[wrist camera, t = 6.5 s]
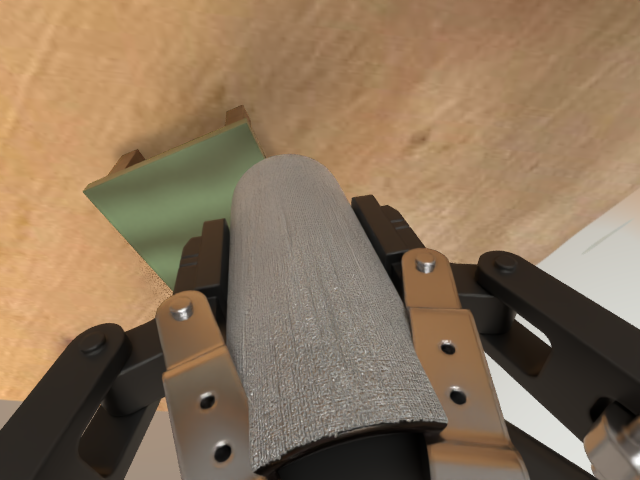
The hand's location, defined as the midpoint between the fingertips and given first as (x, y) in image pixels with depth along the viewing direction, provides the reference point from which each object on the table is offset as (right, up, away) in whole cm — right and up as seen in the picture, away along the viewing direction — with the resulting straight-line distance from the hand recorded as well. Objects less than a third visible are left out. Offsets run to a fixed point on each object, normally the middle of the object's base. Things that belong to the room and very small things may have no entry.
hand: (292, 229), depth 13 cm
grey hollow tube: (0, +1, +2) cm, 2 cm away
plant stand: (-9, +5, +19) cm, 22 cm away
